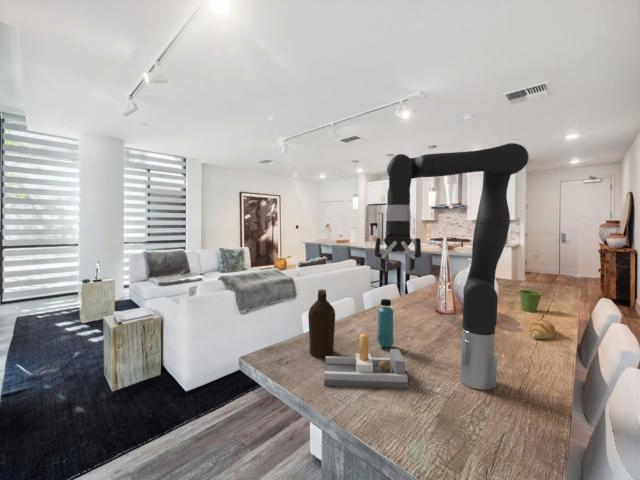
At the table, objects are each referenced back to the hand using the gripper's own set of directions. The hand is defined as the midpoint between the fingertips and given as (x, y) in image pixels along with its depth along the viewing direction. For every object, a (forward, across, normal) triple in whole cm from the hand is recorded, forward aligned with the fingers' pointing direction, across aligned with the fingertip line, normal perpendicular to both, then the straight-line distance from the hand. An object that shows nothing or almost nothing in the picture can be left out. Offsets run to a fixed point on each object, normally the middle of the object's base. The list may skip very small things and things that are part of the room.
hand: (397, 270), depth 95 cm
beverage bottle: (+36, -1, -26) cm, 45 cm away
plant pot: (+36, -96, -86) cm, 134 cm away
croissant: (+37, -76, -46) cm, 96 cm away
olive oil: (+36, +25, -19) cm, 48 cm away
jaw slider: (+34, +10, -2) cm, 36 cm away
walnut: (+35, +3, -2) cm, 35 cm away
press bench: (+36, +10, -2) cm, 38 cm away
